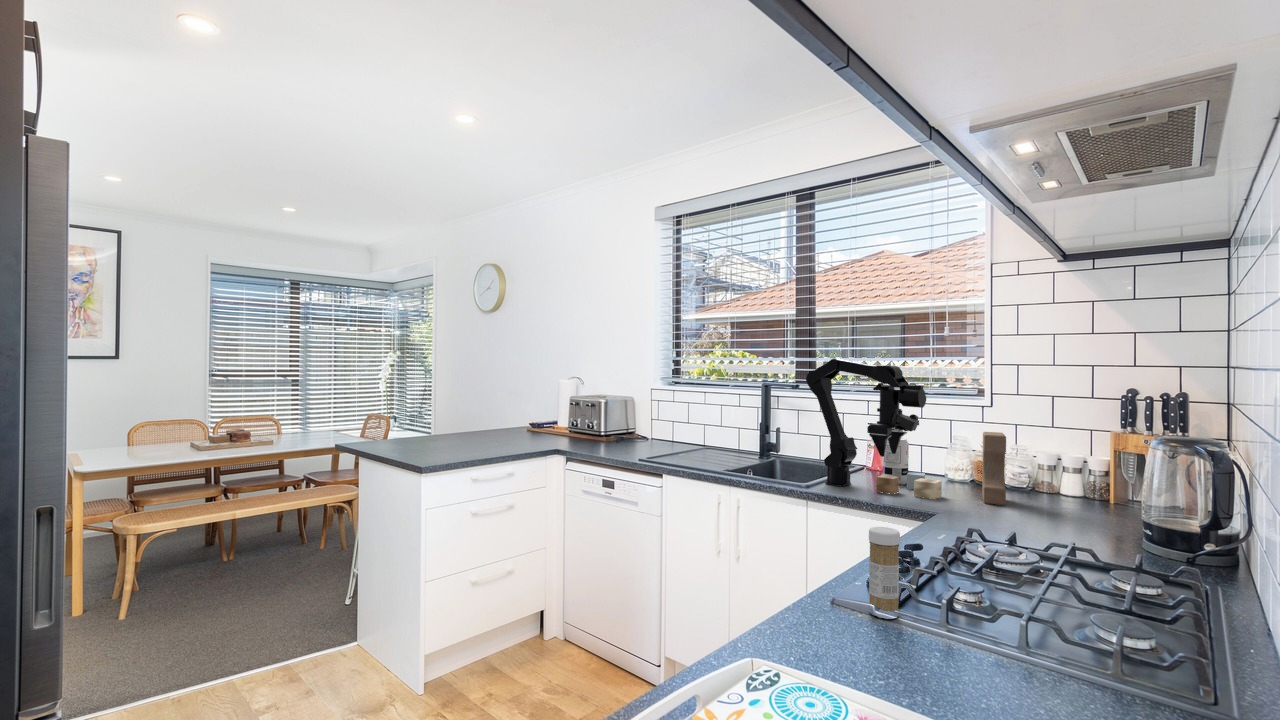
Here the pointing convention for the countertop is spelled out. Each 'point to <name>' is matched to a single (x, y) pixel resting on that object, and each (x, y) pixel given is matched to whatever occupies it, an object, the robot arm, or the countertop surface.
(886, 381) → the robot arm
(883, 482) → the walnut cube
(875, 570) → the sprinkles bottle
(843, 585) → the countertop surface
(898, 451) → the supplement can
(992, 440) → the decorative block
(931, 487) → the maple block
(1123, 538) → the countertop surface
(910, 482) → the slate cube
